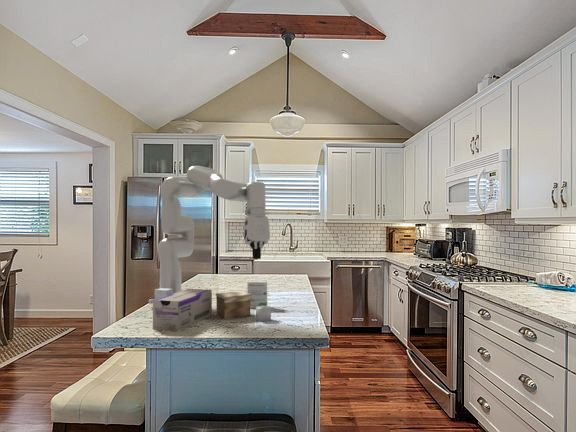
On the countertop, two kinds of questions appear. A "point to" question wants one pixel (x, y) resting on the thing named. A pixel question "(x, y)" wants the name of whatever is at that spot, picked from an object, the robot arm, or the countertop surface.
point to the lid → (235, 296)
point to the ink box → (257, 293)
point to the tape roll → (263, 313)
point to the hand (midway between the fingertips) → (256, 258)
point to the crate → (232, 309)
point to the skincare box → (162, 292)
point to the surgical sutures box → (181, 309)
